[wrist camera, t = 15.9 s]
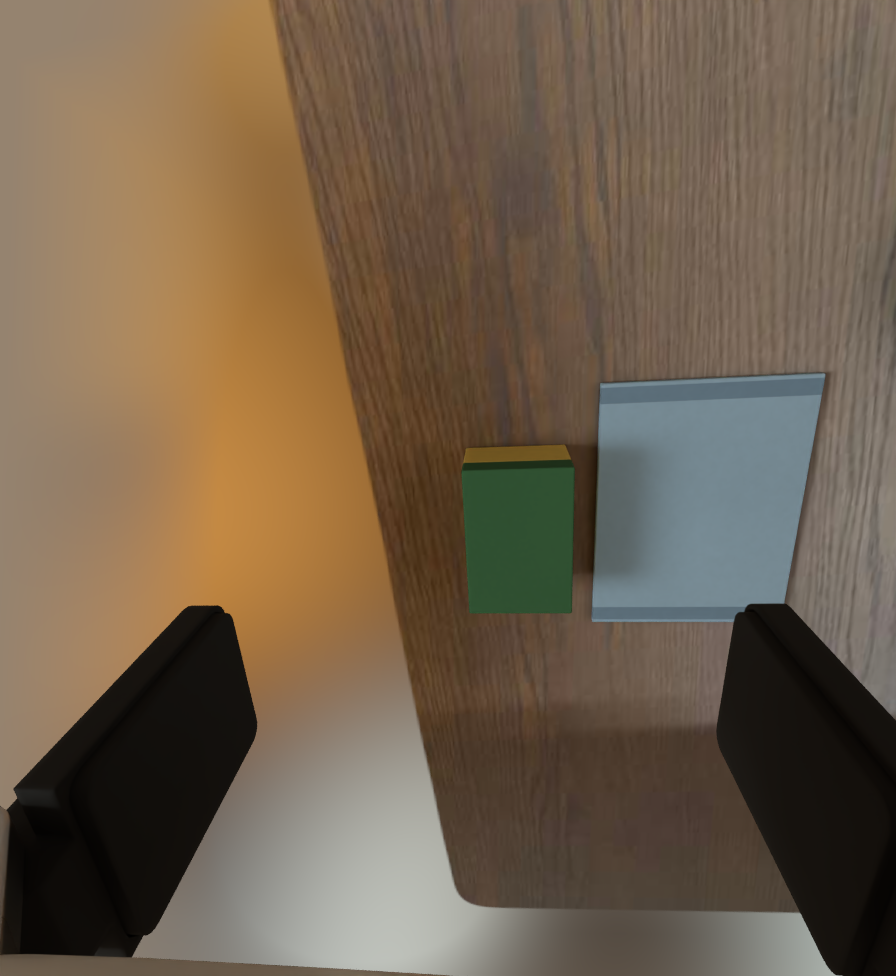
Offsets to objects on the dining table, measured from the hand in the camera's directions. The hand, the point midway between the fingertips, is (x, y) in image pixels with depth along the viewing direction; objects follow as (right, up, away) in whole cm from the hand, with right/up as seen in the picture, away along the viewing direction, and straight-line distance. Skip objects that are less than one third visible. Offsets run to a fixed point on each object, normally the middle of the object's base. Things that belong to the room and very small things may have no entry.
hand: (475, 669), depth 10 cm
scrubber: (+4, +2, +24) cm, 24 cm away
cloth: (+15, +2, +23) cm, 27 cm away
